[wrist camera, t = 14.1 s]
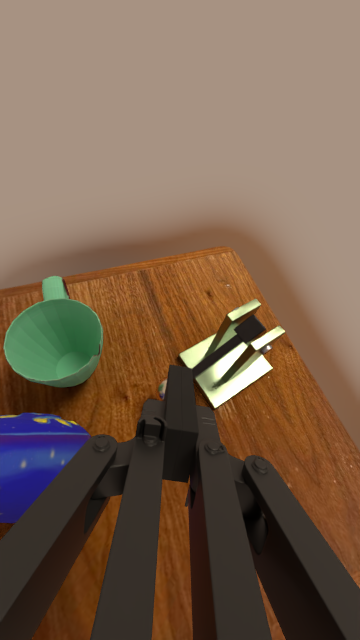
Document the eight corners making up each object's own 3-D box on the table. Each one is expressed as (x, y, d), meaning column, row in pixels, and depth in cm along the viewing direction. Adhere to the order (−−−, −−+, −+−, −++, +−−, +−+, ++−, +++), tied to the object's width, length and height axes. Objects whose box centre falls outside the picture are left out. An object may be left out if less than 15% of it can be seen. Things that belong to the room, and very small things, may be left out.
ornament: (103, 426, 34) (80, 398, 21) (85, 516, 29) (42, 551, 16) (12, 418, 33) (-71, 383, 20) (-21, 509, 28) (-157, 541, 15)
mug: (117, 392, 36) (110, 367, 27) (38, 413, 33) (3, 393, 25) (99, 303, 42) (89, 260, 34) (32, 315, 40) (2, 272, 31)
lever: (172, 410, 34) (161, 414, 30) (157, 386, 35) (145, 388, 32) (271, 337, 31) (270, 333, 28) (251, 314, 33) (248, 307, 29)
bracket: (213, 410, 36) (244, 383, 25) (177, 357, 40) (191, 312, 29) (269, 370, 40) (318, 332, 29) (233, 325, 44) (264, 275, 33)
